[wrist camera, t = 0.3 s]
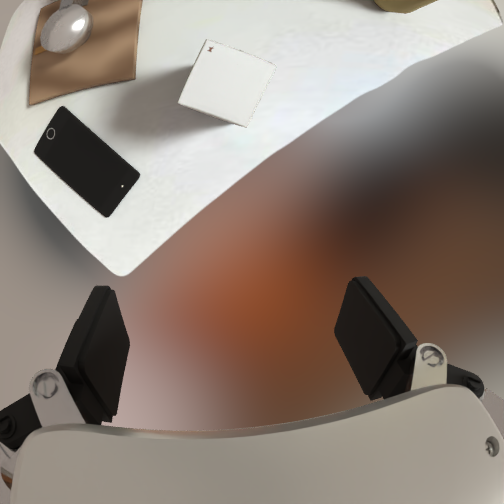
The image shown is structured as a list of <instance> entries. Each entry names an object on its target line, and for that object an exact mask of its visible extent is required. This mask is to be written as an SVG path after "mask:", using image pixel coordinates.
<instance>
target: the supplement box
mask: <svg viewBox="0 0 504 504" xmlns="http://www.w3.org/2000/svg"><path fill="white" fill-rule="evenodd" d="M276 68H277V66H276V65H275V64H273V63H270V62H268V61H266V60H263V59H261V58H259V57H256V56H254V55H251V54H249V53H246V52H244V51H241V50H239V49H235V48H233V47H230V46H227V45H224V44H221V43H218V42H215V41H212V40H209V39H206V41H205V43H204V45H203V47H202V49H201V51H200V53H199V55H198V57H197V59H196V61H195V63H194V65H193V68H192V70H191V72H190V74H189V77H188V79H187V81H186V84H185V86H184V89H183V91H182V93H181V96H180V98H179V101H178V104H180V105H183V106H185V107H187V108H190V109H192V110H195V111H198V112H201V113H203V114H206V115H209V116H212V117H215V118H218V119H221V120H224V121H227V122H230V123H233V124H236V125H239V126H243V127H247V126H248V124H249V122H250V120H251V118H252V116H253V113H254V111H255V109H256V107H257V105H258V103H259V101H260V99H261V97H262V95H263V93H264V91H265V89H266V88H267V86H268V84H269V82H270V80H271V78H272V76H273V74H274V72H275V70H276Z"/></svg>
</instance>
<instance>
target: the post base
mask: <svg viewBox="0 0 504 504" xmlns="http://www.w3.org/2000/svg"><path fill="white" fill-rule="evenodd" d="M142 1H143V0H83V1H82V6H81V7H83V8H84V9H85V10H87V11H88V12H89V13H91V15H92V17H93V28H92V31H91V33H90V35H89V36H88V38H87V39H86V40H85V42H84V43H83V44H82V45H81V46H80V47H78V48H77V49H75V50H74V51H72V52H69V53H66V54H59V53H55V52H52V51H49V50H46V49H44V48H43V47H42V45H41V41H40V36H41V32H42V29H43V27H44V25H45V23H46V22H47V20H48V19H49V18H50V17H51V15H53V14H54V13H55V12H56V11H57V10H59V8H60V4H61V0H59V1H56V2H54V3H52V4H49V5H47V6H45V7H43V8H41V10H40V15H39V19H38V24H37V29H36V35H35V41H34V47H33V55H32V64H31V75H30V94H29V105H34V104H37V103H40V102H43V101H46V100H49V99H52V98H55V97H58V96H61V95H65V94H68V93H72V92H76V91H79V90H83V89H87V88H92V87H96V86H101V85H105V84H110V83H116V82H121V81H127V80H133V79H135V76H136V57H137V43H138V32H139V23H140V15H141V8H142Z"/></svg>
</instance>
